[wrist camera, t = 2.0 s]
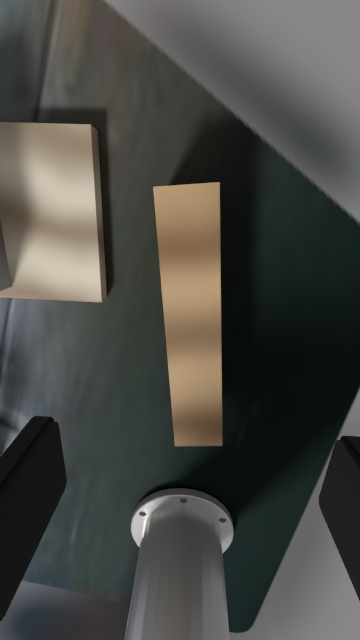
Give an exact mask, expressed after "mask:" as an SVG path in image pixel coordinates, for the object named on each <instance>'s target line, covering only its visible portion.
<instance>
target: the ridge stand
mask: <svg viewBox="0 0 360 640" xmlns="http://www.w3.org/2000/svg"><path fill="white" fill-rule="evenodd" d="M0 297H6V298H26V299H47V300H67V301H87V302H103V301H104V300H105V299H106V298H107V290H106V272H105V254H104V236H103V218H102V201H101V183H100V165H99V147H98V131H97V130H96V129H95V128H94V127H93V126H92V125H91V124H57V123H19V122H0Z"/></svg>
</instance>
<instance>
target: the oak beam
mask: <svg viewBox="0 0 360 640" xmlns="http://www.w3.org/2000/svg"><path fill="white" fill-rule="evenodd" d="M153 190H154V202H155V214H156V226H157V238H158V250H159V262H160V274H161V285H162V297H163V309H164V321H165V333H166V345H167V357H168V369H169V381H170V393H171V405H172V416H173V428H174V440H175V446H222V355H221V256H220V182H213V183H200V184H186V185H172V186H158V187H153Z"/></svg>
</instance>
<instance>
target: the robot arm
mask: <svg viewBox="0 0 360 640" xmlns="http://www.w3.org/2000/svg"><path fill="white" fill-rule="evenodd" d="M66 481H67V478H66V471H65V464H64V458H63V451H62V445H61V438H60V431H59V425H58V423H57V422H54V419H53V418H52V417H43V416H34V417H33V418H32V419H31V420H30V421H29V422H28V423H27V425H26V426H25V427H24V428H23V430H22V431H21V432H20V433H19V435H18V436H17V437H16V438H15V440H14V441H13V442H12V443H11V444H10V446H9V447H8V448H7V449H6V451H5V452H4V453H3V454H2V456H1V457H0V621H1V620H2V619H3V617H4V616H5V614H6V612H7V610H8V608H9V606H10V603H11V601H12V599H13V597H14V595H15V593H16V591H17V589H18V587H19V585H20V583H21V581H22V578H23V576H24V574H25V572H26V570H27V568H28V566H29V564H30V562H31V559H32V557H33V555H34V553H35V551H36V549H37V547H38V545H39V543H40V540H41V538H42V536H43V534H44V532H45V530H46V528H47V526H48V524H49V522H50V519H51V517H52V515H53V513H54V511H55V509H56V507H57V505H58V503H59V500H60V498H61V496H62V494H63V492H64V490H65V487H66ZM319 505H320V509H321V511H322V514H323V516H324V518H325V521H326V523H327V525H328V528H329V530H330V532H331V534H332V537H333V539H334V542H335V544H336V547H337V549H338V551H339V554H340V556H341V558H342V561H343V563H344V565H345V567H346V570H347V572H348V574H349V577H350V579H351V581H352V584H353V586H354V589H355V591H356V593H357V596H358V598H359V600H360V437H355V436H342V437H341V439H340V440H337V441H336V443H335V446H334V449H333V452H332V455H331V459H330V462H329V465H328V469H327V472H326V475H325V479H324V482H323V485H322V489H321V492H320V495H319ZM131 533H132V536H133V538H134V540H135V542H136V543H137V545H138V546H139V547H140V550H139V556H138V562H137V568H136V574H135V580H134V586H133V592H132V598H131V604H130V610H129V616H128V622H127V628H126V634H125V640H229V628H228V616H227V604H226V592H225V579H224V567H223V555H222V554H223V552H224V551H225V550H226V549H227V548H228V547H229V545H230V544H231V542H232V539H233V523H232V518H231V516H230V513H229V511H228V510H227V509H226V507H225V506H224V505H223V504H222V503H221V502H219V501H218V500H217V499H215V498H214V497H212V496H210V495H208V494H206V493H203V492H201V491H197V490H193V489H186V488H171V489H165V490H161V491H158V492H155V493H153V494H151V495H149V496H147V497H146V498H144V499H143V500H142V501H141V502H140V503H139V504H138V505H137V507H136V508H135V510H134V513H133V516H132V521H131Z"/></svg>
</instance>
